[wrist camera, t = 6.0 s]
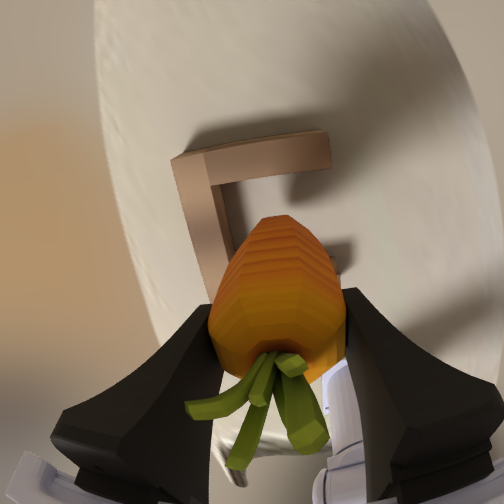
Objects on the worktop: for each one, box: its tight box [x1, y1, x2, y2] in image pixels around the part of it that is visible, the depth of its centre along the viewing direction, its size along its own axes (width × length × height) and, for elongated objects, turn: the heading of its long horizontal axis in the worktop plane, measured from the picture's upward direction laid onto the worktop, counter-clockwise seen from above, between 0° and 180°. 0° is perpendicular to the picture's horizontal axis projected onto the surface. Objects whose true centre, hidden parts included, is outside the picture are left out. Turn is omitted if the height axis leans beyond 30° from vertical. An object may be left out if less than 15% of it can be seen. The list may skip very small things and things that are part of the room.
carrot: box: [184, 215, 346, 471], centre depth 12 cm, size 5×5×15 cm
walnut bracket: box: [170, 130, 341, 304], centre depth 19 cm, size 11×9×2 cm
